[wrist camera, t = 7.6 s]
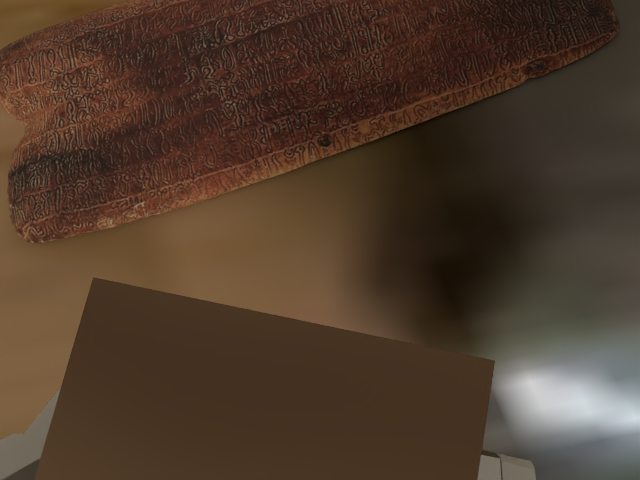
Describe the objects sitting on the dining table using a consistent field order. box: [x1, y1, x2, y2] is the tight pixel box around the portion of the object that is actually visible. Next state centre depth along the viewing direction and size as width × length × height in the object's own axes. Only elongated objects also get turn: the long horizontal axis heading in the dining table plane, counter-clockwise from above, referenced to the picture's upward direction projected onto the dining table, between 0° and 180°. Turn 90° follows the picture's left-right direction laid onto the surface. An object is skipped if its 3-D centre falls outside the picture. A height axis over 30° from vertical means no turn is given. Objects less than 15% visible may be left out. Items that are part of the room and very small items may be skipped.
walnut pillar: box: [34, 278, 495, 480], centre depth 11 cm, size 4×4×10 cm
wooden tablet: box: [0, 0, 619, 243], centre depth 25 cm, size 26×2×10 cm
